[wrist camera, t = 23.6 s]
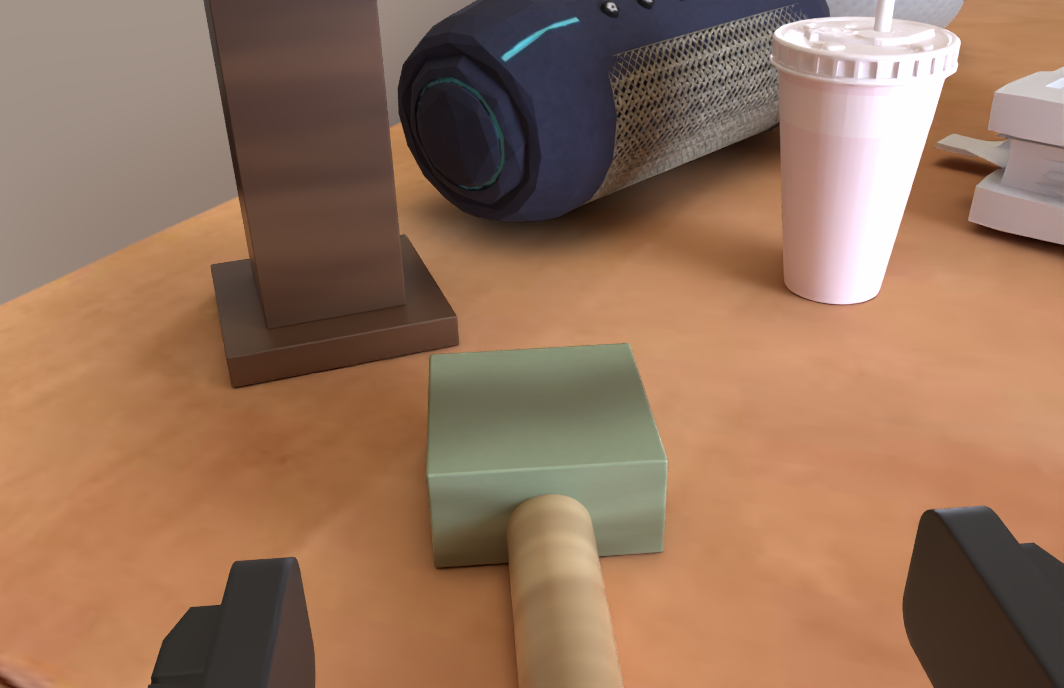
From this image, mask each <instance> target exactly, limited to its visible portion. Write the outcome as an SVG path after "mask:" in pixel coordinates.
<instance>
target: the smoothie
mask: <svg viewBox="0 0 1064 688" xmlns="http://www.w3.org/2000/svg"><path fill="white" fill-rule="evenodd" d="M894 1H895V0H878V2H877V9H876V16H875V17H826V18H815V19H808V20H801V21H797V22H793V23H789V24H787V25H784V26H782V27H780V28H779V29H777V30H776V31H775V32H774V35H773V48H772V53H771V55H770V56H769V58H770V63H771V64H772V65H773V66H774V67H776V68H777V69H778V72H779V115H780V154H781V192H782V231H783V270H784V283H785V285H786V286H787V288H788V289H789V290H791V291H792V292H793V293H795V294H797V295H799V296H801V297H804V298H806V299H809V300H813V301H817V302H822V303H829V304H853V303H859V302H863V301H867V300H869V299H871V298H873V297H875V296H876V295H877V294H878V292H879V290H880V287H881V284H882V280H883V277H884V274H885V271H886V267H887V264H888V261H889V258H890V255H891V251H892V248H893V245H894V242H895V238H896V235H897V232H898V229H899V226H900V222H901V219H902V216H903V213H904V209H905V206H906V203H907V200H908V197H909V193H910V190H911V187H912V184H913V180H914V177H915V174H916V171H917V168H918V164H919V161H920V158H921V155H922V151H923V148H924V145H925V142H926V139H927V135H928V132H929V129H930V126H931V123H932V120H933V117H934V114H935V110H936V107H937V103H938V100H939V96H940V93H941V89H942V86H943V83H944V80H945V78H947V77H948V76H950V75H952V74H953V73H955V72H956V70H957V67H958V63H957V59H958V54H959V48H960V43H961V41H960V39H959V38H958V37H957V36H956V35H955V34H954V33H952V32H950V31H948V30H946V29H943V28H940V27H937V26H934V25H930V24H925V23H921V22H915V21H909V20H901V19H893V18H892V14H893V8H894Z"/></svg>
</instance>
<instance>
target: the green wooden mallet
mask: <svg viewBox="0 0 1064 688" xmlns="http://www.w3.org/2000/svg"><path fill="white" fill-rule="evenodd" d="M667 471H668V459H667V456H666V453H665V450H664V447H663V444H662V441H661V438H660V435H659V432H658V429H657V426H656V423H655V420H654V417H653V414H652V411H651V407H650V404H649V401H648V398H647V395H646V392H645V389H644V386H643V383H642V380H641V377H640V374H639V371H638V368H637V365H636V362H635V359H634V356H633V352H632V349H631V346H630V344H629V343H621V344H604V345H586V346H569V347H552V348H535V349H518V350H500V351H483V352H466V353H449V354H432V355H430V357H429V387H428V422H427V457H426V483H427V493H428V504H429V514H430V525H431V535H432V546H433V556H434V565H435V567H437V568H440V567H455V566H469V565H483V564H498V563H509V573H510V585H511V597H512V610H513V622H514V635H515V647H516V659H517V672H518V684H519V688H625V687H624V682H623V677H622V672H621V667H620V662H619V657H618V652H617V647H616V641H615V636H614V631H613V626H612V621H611V616H610V611H609V606H608V601H607V596H606V591H605V586H604V581H603V576H602V571H601V566H600V560H599V556H613V555H627V554H641V553H656V552H662V551H663V546H664V527H665V508H666V490H667Z"/></svg>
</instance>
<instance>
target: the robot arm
mask: <svg viewBox="0 0 1064 688" xmlns="http://www.w3.org/2000/svg"><path fill="white" fill-rule="evenodd" d="M903 619H904V625H905V629H906V633H907V636H908V639H909V642H910V644H911V646H912V648H913V650H914V652H915V654H916V656H917V657H918V659H919V661H920V663H921V665H922V667H923V668H924V670H925V672H926V674H927V676H928V678H929V679H930V681H931V683H932V685H933V687H934V688H1064V564H1063V563H1062V562H1060V561H1059V560H1058V559H1056V558H1055V557H1053V556H1052V555H1050V554H1049V553H1048V552H1046V551H1045V550H1043V549H1042V548H1040V547H1039V546H1038V545H1036V544H1035V543H1024V544H1019V543H1018V542H1017V540H1016V539H1015V538H1014V536H1013V535H1012V534H1011V532H1010V531H1009V530H1008V528H1007V527H1006V526H1005V525H1004V523H1003V522H1002V521H1001V519H1000V518H999V517H998V515H997V514H996V513H995V512H994V511H993V510H992V509H991V508H989V507H987V506H974V507H960V508H946V509H932V510H927V511H925V512H924V513H923V515H922V516H921V519H920V522H919V526H918V530H917V535H916V539H915V544H914V549H913V553H912V558H911V563H910V567H909V572H908V577H907V581H906V586H905V591H904V596H903ZM148 688H315V654H314V645H313V639H312V633H311V628H310V622H309V617H308V611H307V606H306V600H305V595H304V589H303V584H302V578H301V573H300V568H299V564H298V561H297V559H296V558H295V557H287V558H273V559H259V560H245V561H236V562H234V563H233V565H232V567H231V570H230V573H229V577H228V581H227V585H226V588H225V592H224V596H223V600H222V603H221V605H213V606H200V607H190V609H189V610H188V611H187V612H186V613H185V615H184V616H183V617H182V618H181V619H180V621H179V622H178V623H177V624H176V625H175V627H174V628H173V629H172V630H171V631H170V633H169V634H168V635H167V636H166V637H165V639H164V640H163V642H162V645H161V648H160V651H159V654H158V657H157V661H156V664H155V667H154V670H153V673H152V676H151V685H148Z"/></svg>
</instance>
